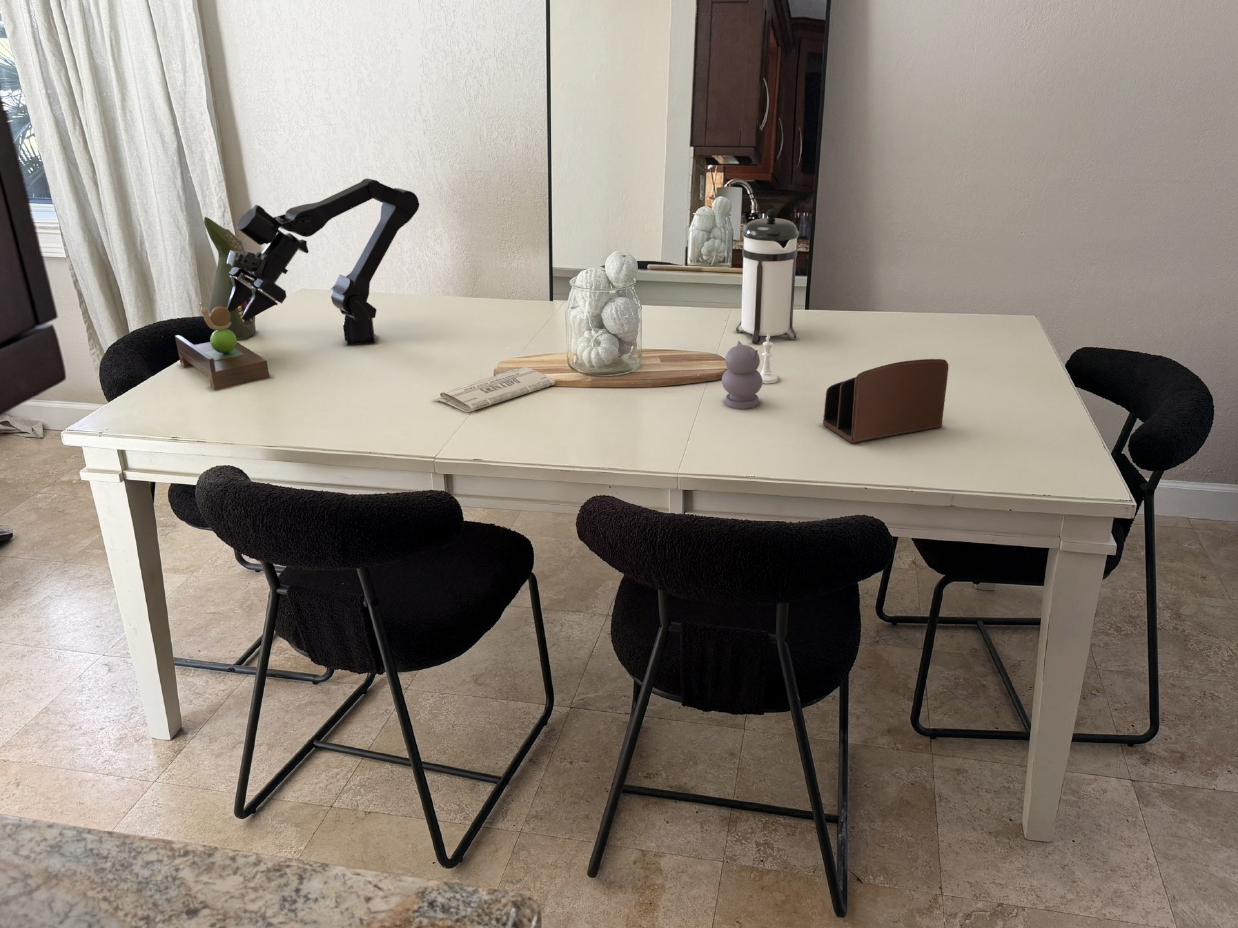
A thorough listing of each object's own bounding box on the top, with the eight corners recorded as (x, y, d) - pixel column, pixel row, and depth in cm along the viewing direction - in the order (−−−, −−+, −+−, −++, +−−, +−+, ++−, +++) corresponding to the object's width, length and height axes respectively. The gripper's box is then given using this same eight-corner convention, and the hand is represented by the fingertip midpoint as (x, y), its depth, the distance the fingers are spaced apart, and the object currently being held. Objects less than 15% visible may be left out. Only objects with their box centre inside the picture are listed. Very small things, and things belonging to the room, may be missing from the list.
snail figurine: (203, 354, 223) (193, 301, 218) (231, 347, 227) (221, 295, 222) (215, 359, 220) (205, 305, 215) (243, 352, 224) (233, 299, 219)
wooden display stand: (233, 354, 236) (228, 325, 233) (269, 377, 220) (264, 347, 217) (180, 365, 229) (174, 335, 226) (214, 390, 214) (208, 359, 211)
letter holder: (942, 427, 189) (951, 355, 183) (851, 444, 182) (858, 370, 176) (909, 409, 197) (917, 340, 191) (822, 425, 190) (827, 354, 185)
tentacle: (210, 342, 245) (186, 217, 232) (233, 327, 256) (211, 207, 243) (246, 343, 244) (224, 217, 231) (267, 328, 255) (248, 207, 242)
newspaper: (517, 372, 221) (517, 361, 220) (554, 391, 213) (555, 380, 212) (431, 398, 206) (431, 387, 205) (467, 419, 199) (467, 408, 198)
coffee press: (808, 331, 245) (817, 205, 233) (781, 348, 233) (788, 217, 220) (744, 320, 254) (748, 199, 241) (714, 337, 241) (717, 210, 229)
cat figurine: (713, 399, 204) (715, 342, 199) (747, 393, 207) (749, 336, 202) (734, 413, 197) (736, 354, 192) (769, 406, 200) (772, 348, 195)
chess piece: (780, 377, 215) (783, 332, 211) (773, 385, 211) (776, 339, 207) (758, 374, 217) (760, 329, 213) (751, 381, 213) (753, 336, 209)
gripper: (230, 229, 225) (190, 286, 223) (262, 242, 212) (220, 303, 210) (271, 258, 233) (232, 314, 231) (304, 273, 220) (263, 332, 218)
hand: (235, 315), depth 222 cm, fingers open, 9 cm apart
